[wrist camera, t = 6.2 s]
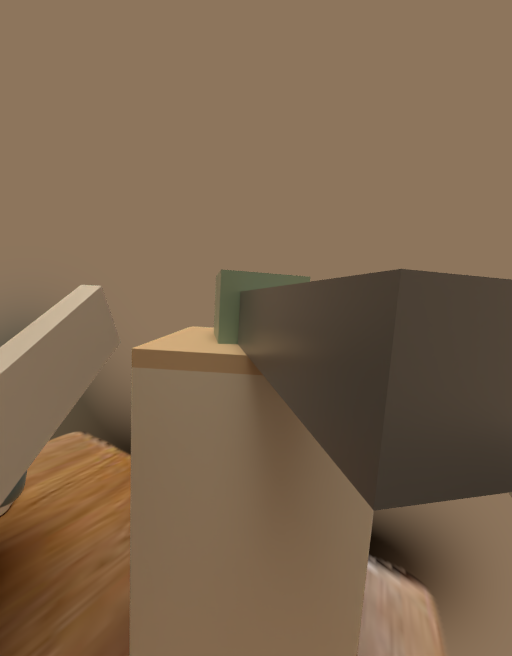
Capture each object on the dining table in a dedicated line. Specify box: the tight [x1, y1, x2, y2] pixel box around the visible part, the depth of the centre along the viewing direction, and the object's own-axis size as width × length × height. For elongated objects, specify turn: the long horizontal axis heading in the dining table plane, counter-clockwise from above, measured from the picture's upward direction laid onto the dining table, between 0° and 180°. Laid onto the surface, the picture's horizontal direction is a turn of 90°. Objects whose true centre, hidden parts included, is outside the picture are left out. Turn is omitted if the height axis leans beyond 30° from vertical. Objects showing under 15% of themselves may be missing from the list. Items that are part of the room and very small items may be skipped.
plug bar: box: [214, 269, 512, 510], centre depth 15 cm, size 22×7×6 cm, turn 12°
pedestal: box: [130, 326, 373, 656], centre depth 25 cm, size 14×16×30 cm
